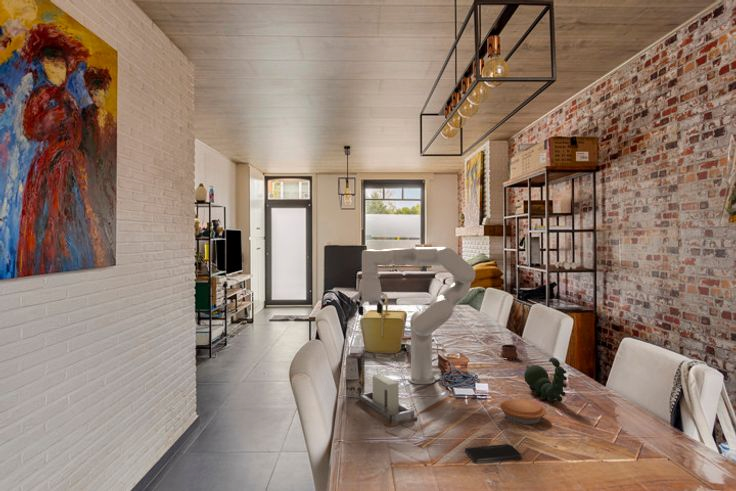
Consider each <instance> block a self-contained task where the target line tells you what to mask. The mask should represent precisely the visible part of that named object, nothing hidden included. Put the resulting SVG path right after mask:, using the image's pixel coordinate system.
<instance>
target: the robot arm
mask: <svg viewBox="0 0 736 491" xmlns="http://www.w3.org/2000/svg"><path fill="white" fill-rule="evenodd" d="M391 265H392V266H393V265H396V266H397V265H401V266H402V265H407V266H412V267H432V266H433V267H435V266H436V267H437V266H438V267H439V266H442V268H444V269H445V270H446V271H447V272H448V273H449V274H450V275H452V278H453V279H452V282H451V283H450V285H449V286H448V287H447V288H446V289H444V290H443V291H442V292H441V293H439V294H438V295H436V297H434V298H433V299H432V300H431V301H430V303H429V306H428V307H427V308H426V309H425V310H417V311H415V312H414V313H413V314H412V315H411V317H410V321H409V323H410V374H409V375H408V376H407V381H408V382H409V383H412V384H415V385H431V384H434V383H435V382H436V377H435V375H440V374H441V370H440V369H434V368H433V335H432V334H433V333H434V332H436V330H438V329H439V328H440V327H441V326H443V325H444V324H445V323H447V321H449V320H450V318H451V317H452V316H453V313H454V308H455V307H456V306H457V305H458V304H459V303H461V302H462V301H463V300H464V299H465V298H466V296H468V294H469V292H470V289H471V285H472V282H474V280H475V278H476V271H475V269H474V267H473V266H472V265H471V264H470V263H469V262H468V261H466V260H465V259H464V258H462V257H461V256H460V255H459V254H458V253H457V252H456V251H455V250H454V249H453V248H451V247H448V246H435V247H434V246H433V247H432V246H431V247H429V246H428V247H425V246H424V247H422V246H421V247H411V248H384V249H381V250H379V249H378V250H376V249H364V250H362V251H361V279H360V280H359V283H358V284H359V285H358V293H356V294H355V295H354V296H352V299H353V302H354V303H355V304H356V306H357V313H358V315H359V316H364V304H365V303H372V302H376V303H377V305H376V310H377V313H380V314H381V313H382V305H383V306H384V301H385V299H386V297H388V294H386V293H384V292H382V287H381V282H380V281H381V280H380V279H379V278H380V277H381V273H379V266H383V267H388V266H391Z"/></svg>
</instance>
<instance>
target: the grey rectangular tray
mask: <svg viewBox="0 0 736 491" xmlns="http://www.w3.org/2000/svg"><path fill="white" fill-rule="evenodd" d="M355 405H357V406H358V407H360V408H361V409H362V410H364V411H366V413H368V414H369V415H371V416H372V417H374V418H375V419H377V421H379V422H381V423H382V424H384V425H385V426H386V427H388V428H390V427H391V428H392V427H394V426H398V425H402V424H406V423H410V422H414V421H418V416H416V415H415V410H414V409H412V408H411V407H409V406H407V405H405V404H404V403H402V402H401V401H399V413H395V414H393V413H391V412H390V411H388V410H387V409H385V408H384V407H382V406H381V405H379V404H377V403H376V402H374V401H373V390H372V391H368V392H363V393H362V394H359V398H358V400H356V401H355Z"/></svg>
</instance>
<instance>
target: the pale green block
mask: <svg viewBox="0 0 736 491" xmlns="http://www.w3.org/2000/svg"><path fill="white" fill-rule="evenodd" d="M399 388H400V387H399V382H397V381H396V380H395V379H392V378H391V377H388V376H386V375H385V374H382V373H380V374H375V375H372V391H373V401H374V402H376V403H377V404H379V405H381V406H382V407H384V408H385V409H387V410H388V411H390V412H391V413H393V414H395V413H399V402H400V400H399V399H400V397H399V394H400V393H399V390H400V389H399Z"/></svg>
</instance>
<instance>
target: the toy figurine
mask: <svg viewBox="0 0 736 491" xmlns="http://www.w3.org/2000/svg"><path fill="white" fill-rule="evenodd" d="M548 362H549V363H551V364H552V365H553V366H554V373H553V375H552V377H553V379H552V381H551V380H550V378H549V377H550V376H549V373H548V371H547V370H546V368H544V367H543V366H540V365H539V364H538V365H537V364H533V365H526V366H525V367H526V369H525V371H524V374H523V377H524V382H525V383H526V384H527V385H528V388H529V389H530V391H532V392H533V394H534V395H535V396H540V399H541V401H546V400H547V401H548V402H549V403H553V402H554V401H555V400H554V399H556V401H558V402H562V401H563V397H565V396H566V395H567V394H566V392H565V391H564V389H565V388H567V387H568V385H567V383H565V381H567V380H568V377H567V376H566V375H565V374H566V373H567V370H565V368H564V367H562V366H561V363H560V361H559V360H558V359H557V358H556V357H550V358H549V360H548Z"/></svg>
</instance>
